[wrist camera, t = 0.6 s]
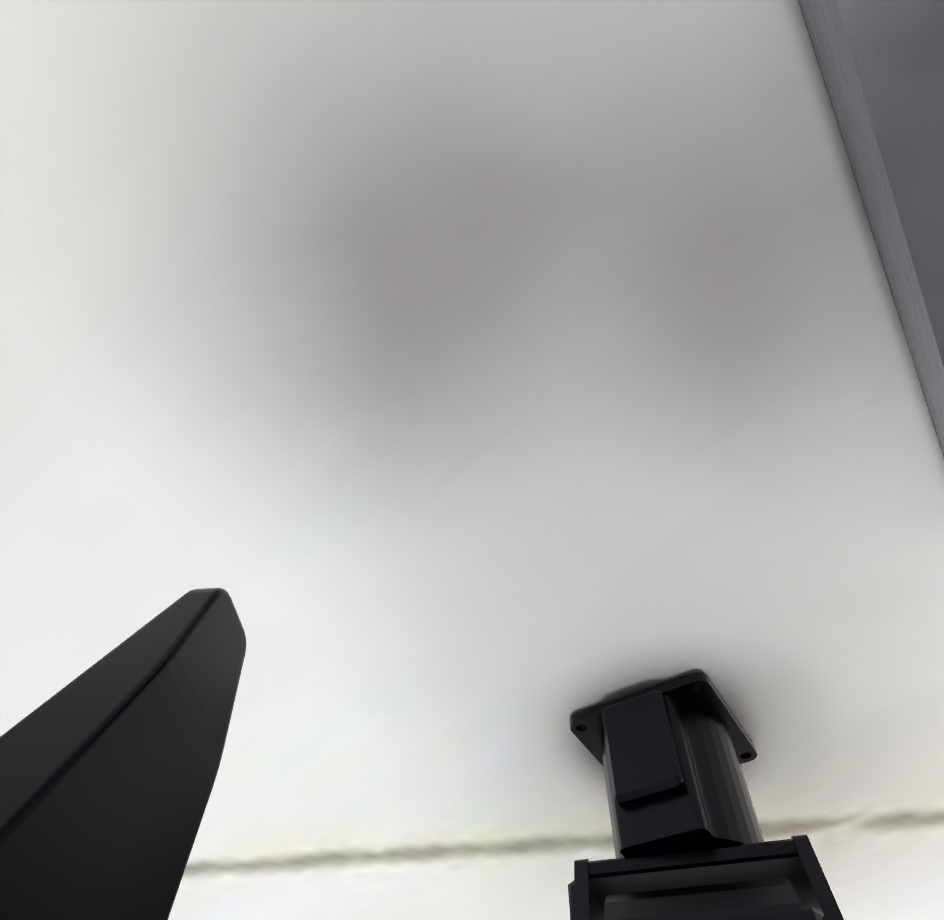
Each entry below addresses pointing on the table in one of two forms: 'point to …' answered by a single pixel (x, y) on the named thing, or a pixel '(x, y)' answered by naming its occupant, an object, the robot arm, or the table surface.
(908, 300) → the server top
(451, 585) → the table surface
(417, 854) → the table surface
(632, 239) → the table surface
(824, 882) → the robot arm
